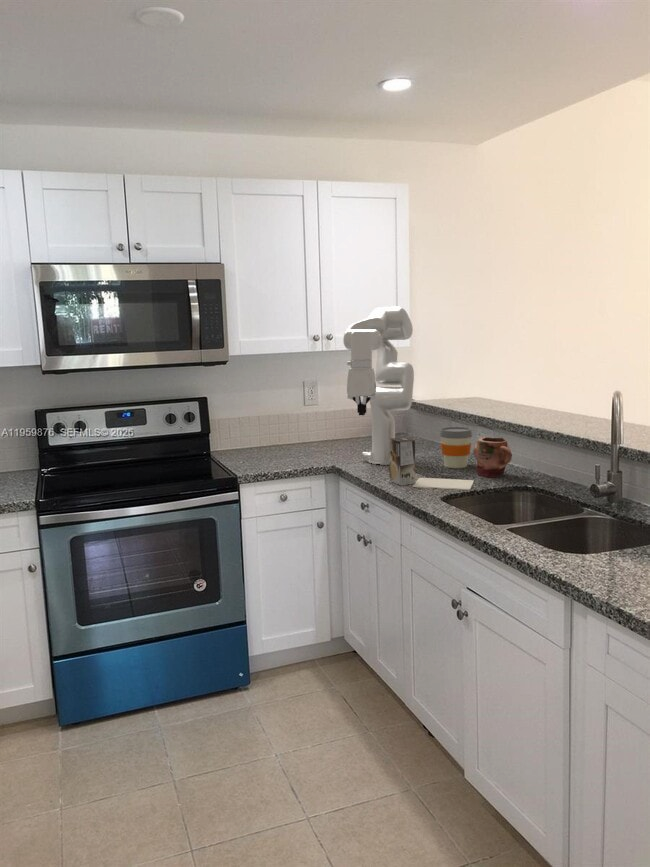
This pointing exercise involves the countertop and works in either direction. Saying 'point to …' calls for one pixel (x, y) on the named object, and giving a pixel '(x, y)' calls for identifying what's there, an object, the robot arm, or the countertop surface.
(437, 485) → the mat
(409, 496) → the countertop surface
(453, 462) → the reusable coffee cup
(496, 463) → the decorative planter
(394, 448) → the coffee box
